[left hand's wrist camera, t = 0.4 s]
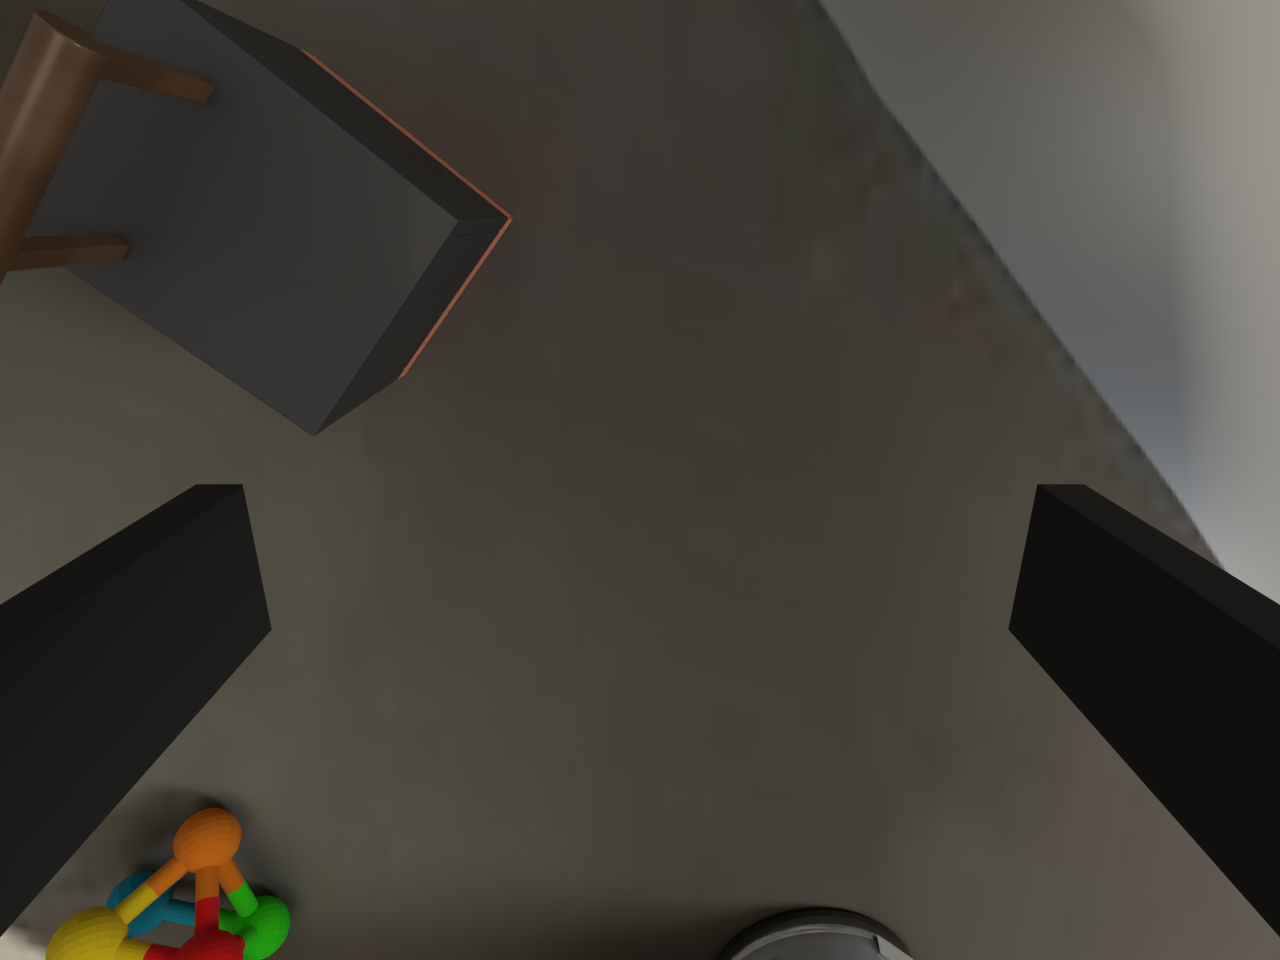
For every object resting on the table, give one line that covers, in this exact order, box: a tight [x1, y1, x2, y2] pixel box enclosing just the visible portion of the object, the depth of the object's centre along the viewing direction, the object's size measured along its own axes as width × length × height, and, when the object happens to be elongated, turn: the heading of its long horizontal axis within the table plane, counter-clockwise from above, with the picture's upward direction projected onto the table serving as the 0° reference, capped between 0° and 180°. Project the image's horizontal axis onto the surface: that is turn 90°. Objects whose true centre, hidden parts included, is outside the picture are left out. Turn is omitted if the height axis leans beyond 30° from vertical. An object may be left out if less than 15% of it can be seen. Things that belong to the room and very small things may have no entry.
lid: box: [0, 0, 466, 436], centre depth 23 cm, size 12×10×8 cm
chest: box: [190, 0, 513, 426], centre depth 31 cm, size 11×10×10 cm
